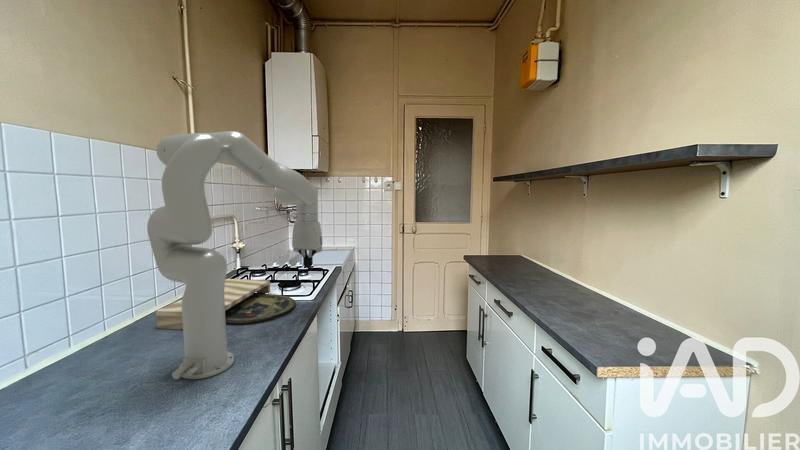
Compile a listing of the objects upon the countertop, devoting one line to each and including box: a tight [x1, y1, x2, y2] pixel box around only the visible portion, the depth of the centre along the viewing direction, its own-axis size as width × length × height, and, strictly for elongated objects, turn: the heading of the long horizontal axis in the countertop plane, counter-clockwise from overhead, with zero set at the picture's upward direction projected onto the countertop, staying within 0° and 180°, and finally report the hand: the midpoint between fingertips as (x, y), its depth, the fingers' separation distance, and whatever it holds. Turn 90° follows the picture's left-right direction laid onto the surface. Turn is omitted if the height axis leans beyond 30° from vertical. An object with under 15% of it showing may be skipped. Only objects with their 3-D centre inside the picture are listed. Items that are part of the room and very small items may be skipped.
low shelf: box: [155, 278, 271, 330], centre depth 127 cm, size 39×20×6 cm, turn 175°
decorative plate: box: [225, 293, 297, 326], centre depth 126 cm, size 30×2×30 cm
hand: (308, 267), depth 121 cm, fingers closed
